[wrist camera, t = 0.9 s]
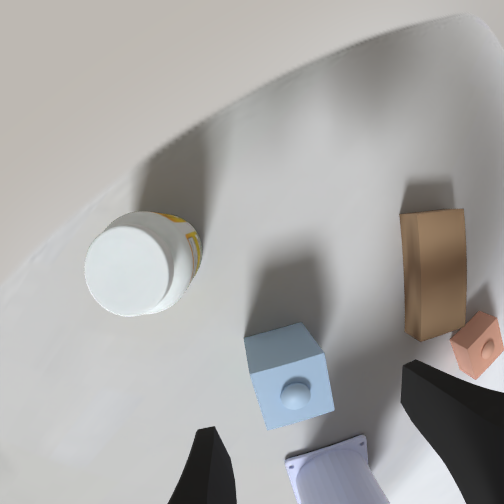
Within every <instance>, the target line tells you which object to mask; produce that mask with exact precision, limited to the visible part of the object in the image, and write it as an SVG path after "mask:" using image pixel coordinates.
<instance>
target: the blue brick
mask: <svg viewBox="0 0 504 504" xmlns="http://www.w3.org/2000/svg"><path fill="white" fill-rule="evenodd" d="M244 343H245V349H246V355H247V361H248V367H249V373H250V377H251V380H252V383H253V386H254V390H255V393H256V396H257V399H258V402H259V406H260V409H261V412H262V415H263V418H264V421H265V424H266V427H267V430H271V429H275V428H279V427H283V426H286V425H290V424H293V423H297V422H300V421H303V420H307V419H310V418H313V417H316V416H320V415H323V414H326V413H329V412H332V411H334V410H335V409H334V404H333V398H332V392H331V387H330V381H329V376H328V370H327V365H326V360H325V354H324V352H323V350H322V349H321V348H320V346H319V345H318V344H317V342H316V341H315V340H314V338H313V337H312V336H311V334H310V333H309V332H308V330H307V329H306V328H305V326H304V325H303V323H302V322H299V323H296V324H293V325H289V326H286V327H282V328H279V329H275V330H271V331H268V332H264V333H260V334H257V335H253V336H249V337H245V338H244Z"/></svg>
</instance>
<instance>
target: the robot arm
mask: <svg viewBox="0 0 504 504" xmlns="http://www.w3.org/2000/svg"><path fill="white" fill-rule="evenodd" d="M401 404H402V405H403V407H404V409H405V411H406V413H407V414H408V416H409V417H410V419H411V421H412V422H413V423H414V425H415V426H416V427H417V429H418V430H419V431H420V432H421V434H422V435H423V436H424V437H425V439H426V440H427V441H428V442H429V444H430V445H431V446H432V447H433V449H434V450H435V451H436V452H437V454H438V455H439V456H440V457H441V459H442V460H443V462H444V463H445V465H446V466H447V468H448V470H449V471H450V473H451V475H452V477H453V478H454V480H455V482H456V484H457V486H458V488H459V490H460V491H461V493H462V495H463V498H464V500H465V502H466V504H504V393H502V392H498V391H494V390H490V389H487V388H483V387H480V386H477V385H474V384H472V383H469V382H466V381H464V380H461V379H459V378H456V377H454V376H452V375H449V374H447V373H445V372H442V371H440V370H438V369H436V368H434V367H431V366H429V365H427V364H425V363H423V362H420V361H418V360H414V361H412V362H409V363H407V364H405V365H403V372H402V390H401ZM361 442H362V443H361ZM291 465H293V466H291ZM285 466H286V469H287V472H288V475H289V478H290V481H291V484H292V487H293V490H294V494H295V497H296V500H297V503H298V504H390V502H389V501H388V499H387V497H386V496H385V494H384V492H383V490H382V489H381V487H380V485H379V484H378V482H377V480H376V479H375V477H374V475H373V474H372V472H371V470H370V468H369V467H368V454H367V441H366V437H365V435H359V436H356V437H354V438H351V439H348V440H346V441H343V442H340V443H337V444H334V445H331V446H328V447H325V448H322V449H319V450H316V451H313V452H310V453H306V454H303V455H299V456H296V457H292V458H289V459H287V460H285ZM168 504H237V500H236V487H235V479H234V473H233V468H232V464H231V459H230V456H229V454H228V452H227V450H226V448H225V446H224V444H223V442H222V440H221V438H220V436H219V434H218V432H217V430H216V428H215V426H213V427H208V428H203V429H198V430H197V432H196V435H195V438H194V442H193V445H192V448H191V451H190V454H189V457H188V460H187V462H186V465H185V467H184V470H183V472H182V475H181V477H180V480H179V482H178V484H177V486H176V488H175V490H174V492H173V494H172V496H171V498H170V500H169V502H168Z"/></svg>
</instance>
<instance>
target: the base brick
mask: <svg viewBox="0 0 504 504" xmlns="http://www.w3.org/2000/svg"><path fill="white" fill-rule="evenodd" d="M399 215H400V225H401V236H402V250H403V266H404V294H405V332H406V333H407V334H409V335H411V336H412V337H414V338H415V339H417V340H418V341H420V342H422V341H425V340H428V339H431V338H434V337H437V336H440V335H443V334H446V333H448V332H451V331H454V330H457V329H460V328H462V327H465V315H466V291H467V258H466V234H465V219H464V209H441V210H432V211H423V212H414V213H406V214H399Z"/></svg>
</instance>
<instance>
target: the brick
mask: <svg viewBox="0 0 504 504" xmlns="http://www.w3.org/2000/svg"><path fill="white" fill-rule="evenodd" d="M450 342H451V345H452V347H453V350H454V353H455V356H456V359H457V362H458V365H459V369H460V370H461V371H463V372H464V373H466V374H467V375H469V376H470V377H472V378H473V379H475V380H476V379H477V378H478V377H479V376H480V375H481V374H482V373H483V372H484V371H485V370H486V369H487V368H488V367H489V366H490V365H491V364H492V363H493V362H494V361H495V359H496V358H497V357H498V356H499V355H500V354H501V353H502V352H503V351H504V347H503V342H502V337H501V333H500V328H499V324H498V320H497V318H496V317H494V316H491V315H489V314H486V313H484V312H481V311H478V312H477V313H476V314H475V315H474V316H473V317H472V319H471V320H470V321H469V322H468V323H467V324H466V325H465V327H462V328H461V329H460V330H459V331H458V332H457V333H456V334H455V335H454V336H453V337H452V338H451V339H450Z"/></svg>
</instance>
